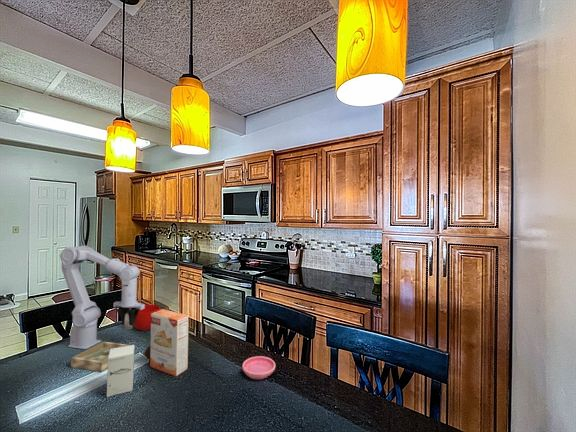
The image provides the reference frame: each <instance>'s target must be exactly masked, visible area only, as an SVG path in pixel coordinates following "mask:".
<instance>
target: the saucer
mask: <svg viewBox="0 0 576 432" xmlns="http://www.w3.org/2000/svg"><path fill="white" fill-rule="evenodd" d="M241 369H242V372H243V373H244V374H245V375H246V376H247V377H249V378H250V379H252V380H264V378H265V379H267V378H269V377H270V376H271V375H272V374H273V373H274V371H276V362H275V361H274V360H273V359H272V358H271V357H267V356H263V355H259V356H258V355H257V356H251V357H248V358H247V359H246V360H244V361H243V362H242V367H241ZM268 376H269V377H268Z"/></svg>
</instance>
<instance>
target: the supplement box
mask: <svg viewBox="0 0 576 432" xmlns="http://www.w3.org/2000/svg"><path fill="white" fill-rule="evenodd" d="M128 345H129V346H124V347H118V348H112V349H110V352H109V357H108V369H107V372H106V373H107V379H106V398H108V397H113V396H115V395H121V394H124V393H129V392H132V391H133V386H134V385H133V384H134V368H135V344H128Z"/></svg>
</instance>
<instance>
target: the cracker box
mask: <svg viewBox="0 0 576 432" xmlns="http://www.w3.org/2000/svg"><path fill="white" fill-rule="evenodd" d="M189 323H190V322H189V315H188V314H186V313H185V314H184V313H179V312H176V311H173V310H172V311H171V310H168V309H164V308H163V309H160V311H156V312H154V313H151V329H150V346H151V349H150V360H149V361H150V362H149V367H150V368H153V369H155V370H159V371H161V372H163V373H165V374H168V375H171V376H173V377H178V376H179V375H181V374H182V373H184V372H185V371H187V370H188V369H189V368H188V367H189V366H188V365H189V358H188V357H189Z"/></svg>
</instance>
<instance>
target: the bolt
mask: <svg viewBox="0 0 576 432" xmlns="http://www.w3.org/2000/svg"><path fill="white" fill-rule="evenodd" d="M150 349H151V345H149V346H147V348H146V349H145V351H144V356H145V358H146V360H149V361H150Z"/></svg>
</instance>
